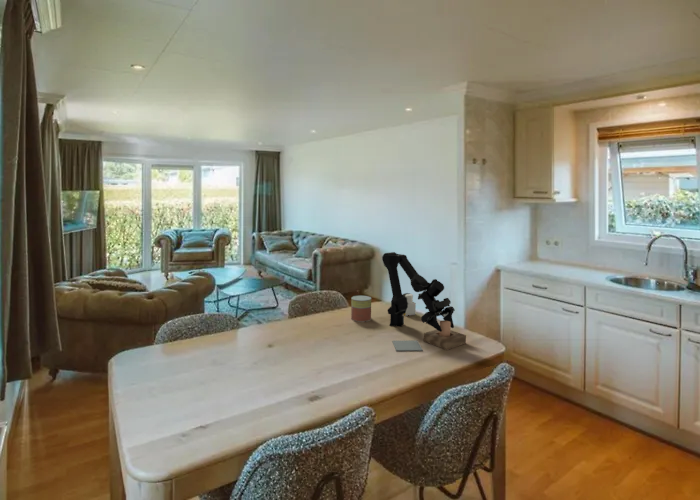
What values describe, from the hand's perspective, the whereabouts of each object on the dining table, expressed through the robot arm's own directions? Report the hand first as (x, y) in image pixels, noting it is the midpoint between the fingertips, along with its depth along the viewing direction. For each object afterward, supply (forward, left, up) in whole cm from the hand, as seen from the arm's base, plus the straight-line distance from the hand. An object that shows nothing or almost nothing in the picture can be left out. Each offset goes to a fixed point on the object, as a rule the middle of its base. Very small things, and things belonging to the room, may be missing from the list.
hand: (447, 329), depth 200 cm
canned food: (-49, +24, -7) cm, 55 cm away
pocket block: (-1, +1, -7) cm, 7 cm away
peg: (-1, +1, -7) cm, 7 cm away
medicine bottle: (-26, +42, -7) cm, 50 cm away
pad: (-17, -10, -7) cm, 21 cm away
